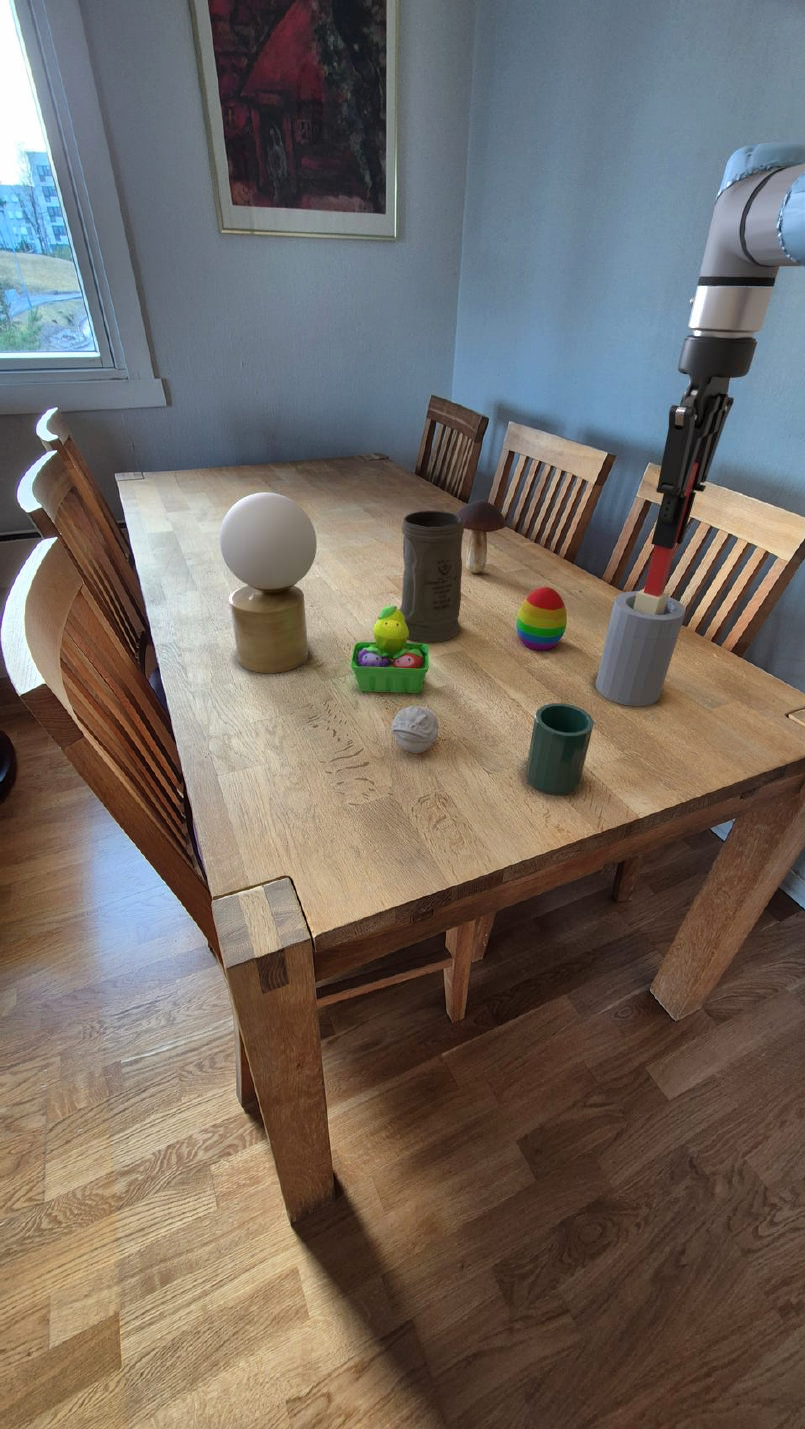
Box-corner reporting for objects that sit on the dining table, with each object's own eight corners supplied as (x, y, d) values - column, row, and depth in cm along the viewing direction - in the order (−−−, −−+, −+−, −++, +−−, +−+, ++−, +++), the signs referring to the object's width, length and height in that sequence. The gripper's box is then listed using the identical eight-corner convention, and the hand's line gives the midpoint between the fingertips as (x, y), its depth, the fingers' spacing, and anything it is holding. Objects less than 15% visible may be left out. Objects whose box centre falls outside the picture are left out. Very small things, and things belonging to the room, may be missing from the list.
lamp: (260, 624, 111) (242, 478, 96) (335, 635, 108) (328, 486, 93) (216, 665, 99) (189, 505, 84) (299, 679, 96) (285, 516, 81)
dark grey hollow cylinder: (474, 634, 109) (479, 517, 99) (424, 650, 104) (424, 529, 93) (422, 608, 120) (422, 500, 109) (375, 621, 115) (370, 509, 104)
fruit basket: (350, 696, 92) (348, 627, 86) (356, 665, 100) (355, 600, 93) (427, 699, 92) (431, 630, 86) (428, 668, 99) (431, 602, 93)
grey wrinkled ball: (382, 760, 80) (383, 715, 76) (401, 730, 85) (402, 687, 81) (428, 771, 78) (430, 726, 74) (444, 740, 84) (447, 696, 80)
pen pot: (589, 777, 78) (603, 718, 73) (561, 803, 74) (574, 743, 69) (544, 754, 82) (555, 696, 77) (515, 777, 78) (524, 718, 73)
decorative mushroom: (510, 571, 133) (518, 500, 125) (481, 587, 126) (489, 512, 117) (467, 559, 139) (473, 490, 130) (438, 573, 132) (442, 501, 123)
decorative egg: (507, 647, 106) (514, 591, 100) (522, 627, 112) (530, 574, 106) (554, 658, 103) (565, 602, 97) (567, 638, 109) (578, 584, 103)
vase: (670, 689, 96) (696, 604, 88) (642, 714, 90) (667, 626, 82) (613, 667, 101) (633, 585, 93) (584, 689, 95) (602, 604, 87)
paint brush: (660, 625, 89) (705, 463, 77) (650, 632, 87) (695, 467, 75) (639, 618, 91) (680, 458, 78) (628, 625, 89) (669, 462, 76)
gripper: (713, 330, 75) (663, 524, 89) (659, 334, 66) (613, 550, 80) (779, 334, 71) (717, 537, 85) (731, 339, 62) (669, 565, 76)
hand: (666, 543), depth 82 cm, fingers closed on paint brush, 2 cm apart
